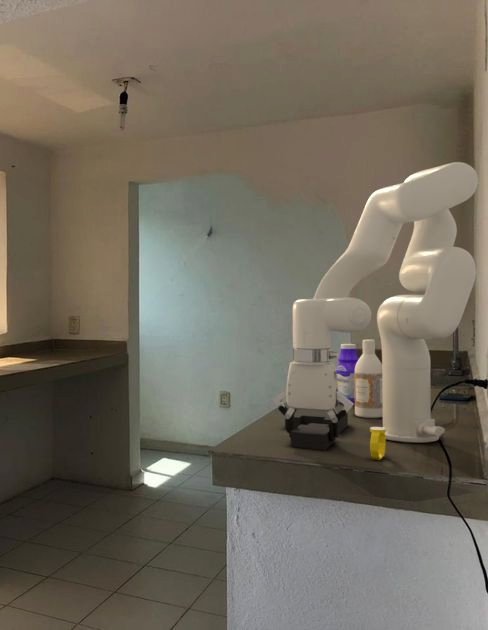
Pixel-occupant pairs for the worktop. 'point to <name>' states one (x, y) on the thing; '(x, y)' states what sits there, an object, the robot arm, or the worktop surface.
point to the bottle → (347, 371)
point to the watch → (377, 442)
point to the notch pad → (316, 418)
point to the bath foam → (368, 383)
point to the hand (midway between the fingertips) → (312, 437)
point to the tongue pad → (311, 436)
